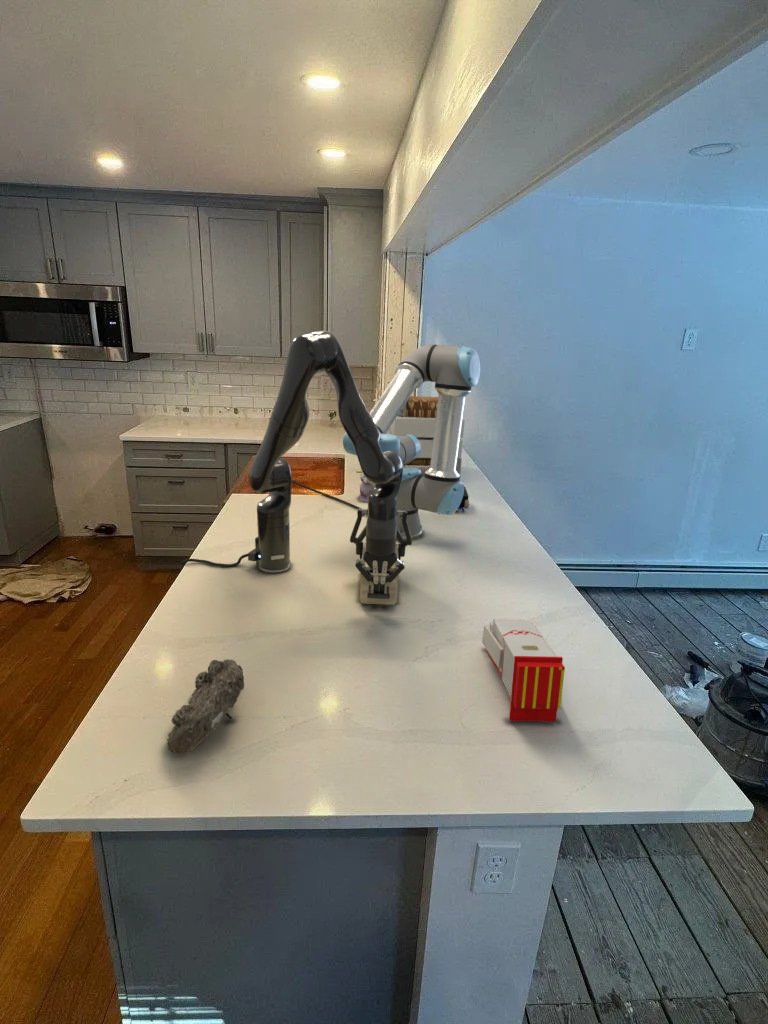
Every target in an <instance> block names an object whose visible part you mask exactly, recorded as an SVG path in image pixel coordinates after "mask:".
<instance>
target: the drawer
mask: <svg viewBox="0 0 768 1024" xmlns="http://www.w3.org/2000/svg"><path fill="white" fill-rule="evenodd" d="M368 571H369V572H370V573H371V574H372V575H373V570H368ZM390 572H391V571H387V572H386V576H387V575H388V574H389V573H390ZM378 574H379V581H380V578H381V571H378ZM373 588H374V584H373V582H371V581H370V582H368V581H367V580H366V579H365V577H364V576H363V575H362V601H361V604H364V605H365V604H368V605H370V604H371V605H390V606H391V605H393V606H394V605H396V603H395V593H396V578H395V579H394V580H393V581H392V582H390V583H389V582H387V583H385V591H384V594H382V593H373Z"/></svg>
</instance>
